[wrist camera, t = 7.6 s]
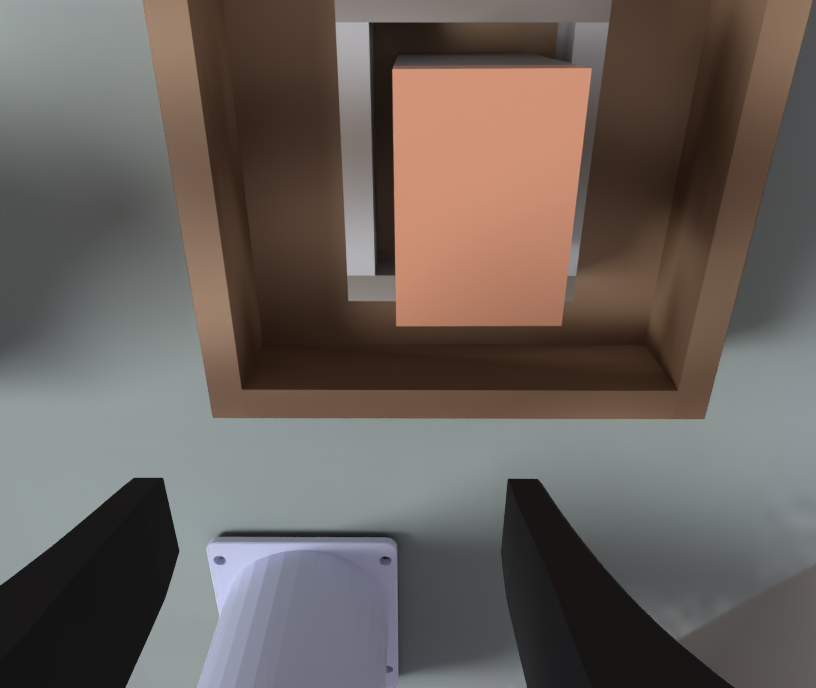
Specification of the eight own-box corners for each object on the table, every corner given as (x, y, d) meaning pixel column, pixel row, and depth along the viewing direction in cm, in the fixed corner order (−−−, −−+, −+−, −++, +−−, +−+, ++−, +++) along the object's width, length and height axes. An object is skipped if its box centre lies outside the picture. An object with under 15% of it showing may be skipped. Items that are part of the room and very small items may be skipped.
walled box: (658, 356, 23) (704, 419, 19) (244, 355, 23) (212, 417, 19) (766, -166, 16) (869, -221, 12) (173, -167, 16) (105, -222, 12)
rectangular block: (513, 229, 19) (561, 325, 13) (400, 229, 20) (396, 326, 13) (526, 52, 17) (592, 68, 11) (398, 52, 17) (392, 69, 11)
